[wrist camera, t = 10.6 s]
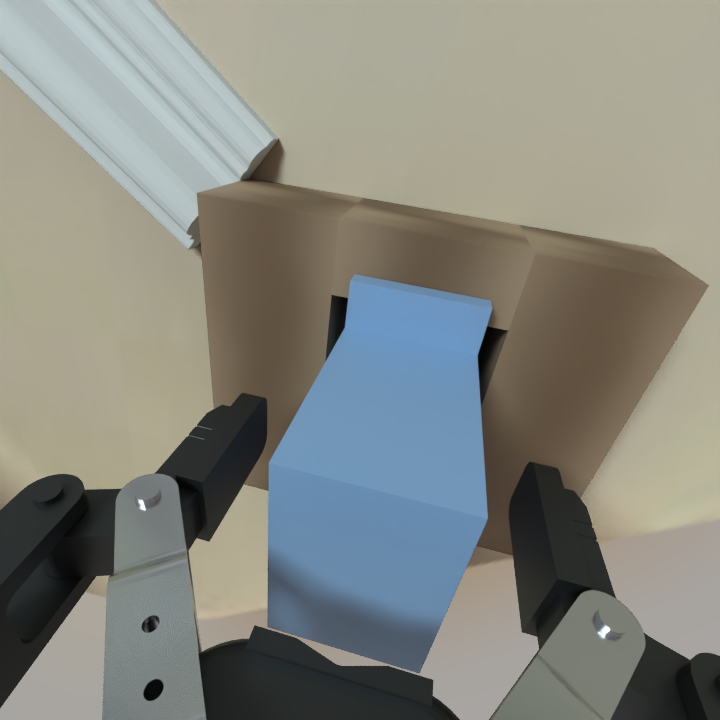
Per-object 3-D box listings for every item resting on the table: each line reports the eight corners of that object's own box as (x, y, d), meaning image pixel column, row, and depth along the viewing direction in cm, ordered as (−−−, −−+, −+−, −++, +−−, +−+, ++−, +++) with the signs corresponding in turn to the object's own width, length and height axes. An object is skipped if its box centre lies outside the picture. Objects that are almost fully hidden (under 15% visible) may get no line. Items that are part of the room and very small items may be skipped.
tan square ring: (253, 427, 21) (219, 477, 18) (248, 178, 15) (196, 193, 12) (529, 496, 20) (540, 562, 17) (654, 248, 13) (708, 285, 10)
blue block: (349, 427, 20) (267, 653, 12) (376, 243, 15) (268, 397, 7) (431, 447, 19) (408, 698, 11) (485, 263, 15) (515, 455, 6)
